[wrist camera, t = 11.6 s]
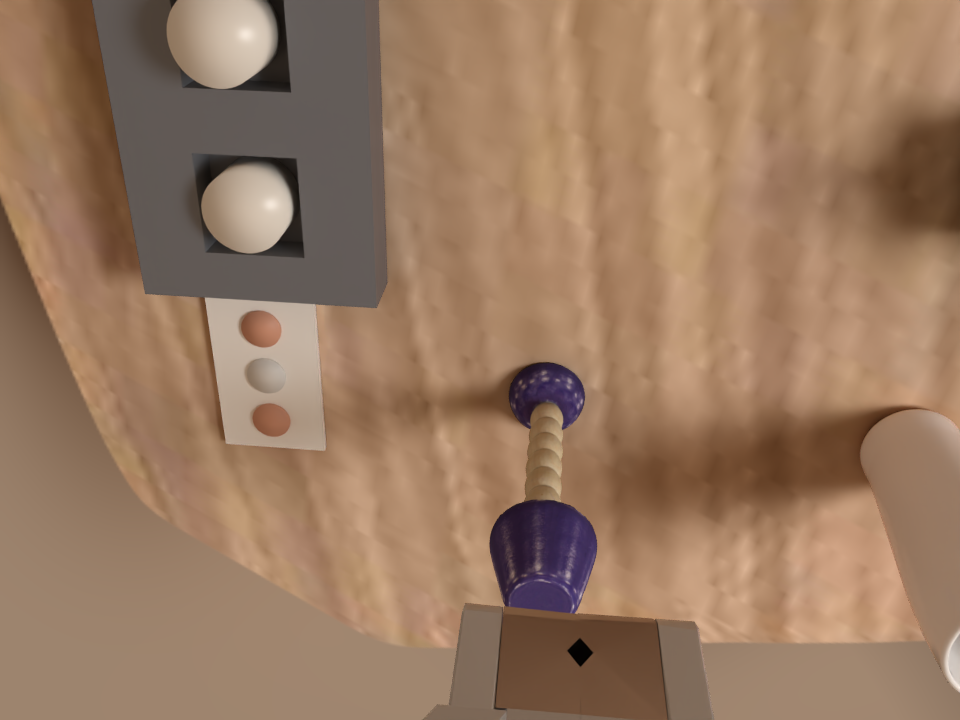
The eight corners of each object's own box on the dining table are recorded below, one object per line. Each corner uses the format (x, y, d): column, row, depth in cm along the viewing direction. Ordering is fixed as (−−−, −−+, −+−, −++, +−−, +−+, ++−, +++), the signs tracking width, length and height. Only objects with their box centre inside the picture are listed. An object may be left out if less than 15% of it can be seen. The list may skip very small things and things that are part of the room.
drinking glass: (824, 479, 51) (911, 692, 38) (873, 380, 47) (987, 578, 34) (938, 503, 51) (1063, 724, 38) (995, 407, 48) (1154, 614, 35)
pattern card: (206, 289, 48) (202, 293, 48) (314, 295, 48) (311, 300, 47) (228, 439, 53) (224, 445, 53) (326, 447, 53) (323, 452, 52)
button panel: (68, -334, 35) (28, -349, 32) (368, -330, 34) (351, -345, 32) (168, 270, 48) (145, 293, 45) (387, 283, 47) (376, 307, 45)
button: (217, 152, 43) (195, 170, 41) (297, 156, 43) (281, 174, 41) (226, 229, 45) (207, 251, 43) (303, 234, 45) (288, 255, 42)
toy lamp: (498, 361, 49) (468, 573, 34) (581, 345, 48) (586, 556, 34) (519, 432, 51) (499, 658, 37) (599, 418, 50) (610, 645, 36)
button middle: (185, -22, 38) (159, -14, 36) (276, -19, 38) (256, -11, 36) (198, 73, 40) (174, 86, 38) (284, 76, 40) (265, 91, 38)
